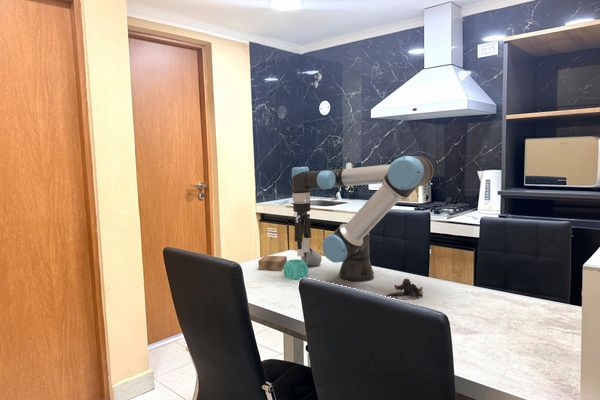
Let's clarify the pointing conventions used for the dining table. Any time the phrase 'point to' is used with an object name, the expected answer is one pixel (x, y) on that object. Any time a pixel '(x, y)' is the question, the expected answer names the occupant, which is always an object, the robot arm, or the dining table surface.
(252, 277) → the dining table surface
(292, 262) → the decorative dice
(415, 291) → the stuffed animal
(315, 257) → the ceramic mug
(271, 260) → the base block
